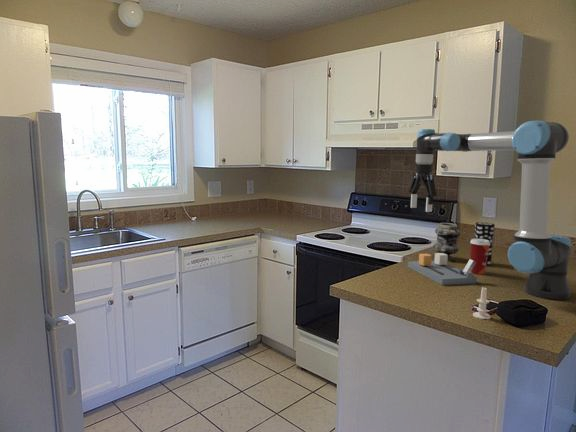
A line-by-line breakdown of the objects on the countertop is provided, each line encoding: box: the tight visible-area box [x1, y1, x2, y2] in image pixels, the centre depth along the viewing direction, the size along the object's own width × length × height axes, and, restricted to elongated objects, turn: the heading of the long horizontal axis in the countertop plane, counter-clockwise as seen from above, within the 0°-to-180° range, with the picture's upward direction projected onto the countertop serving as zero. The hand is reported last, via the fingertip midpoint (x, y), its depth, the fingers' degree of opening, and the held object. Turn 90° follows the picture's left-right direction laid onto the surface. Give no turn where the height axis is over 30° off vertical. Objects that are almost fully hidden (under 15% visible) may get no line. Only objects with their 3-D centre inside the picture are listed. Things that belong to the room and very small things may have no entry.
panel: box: [407, 259, 478, 286], centre depth 183 cm, size 28×16×4 cm, turn 13°
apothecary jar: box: [433, 222, 461, 262], centre depth 211 cm, size 12×12×18 cm
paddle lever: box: [462, 258, 476, 275], centre depth 174 cm, size 3×2×7 cm, turn 13°
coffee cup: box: [469, 238, 490, 275], centre depth 187 cm, size 8×8×15 cm
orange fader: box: [418, 253, 433, 266], centre depth 188 cm, size 4×4×4 cm
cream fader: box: [434, 252, 448, 265], centre depth 190 cm, size 4×4×4 cm
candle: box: [472, 285, 491, 320], centre depth 136 cm, size 5×5×10 cm
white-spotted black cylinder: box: [473, 221, 496, 267], centre depth 202 cm, size 8×8×20 cm
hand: (420, 209), depth 193 cm, fingers open, 13 cm apart
